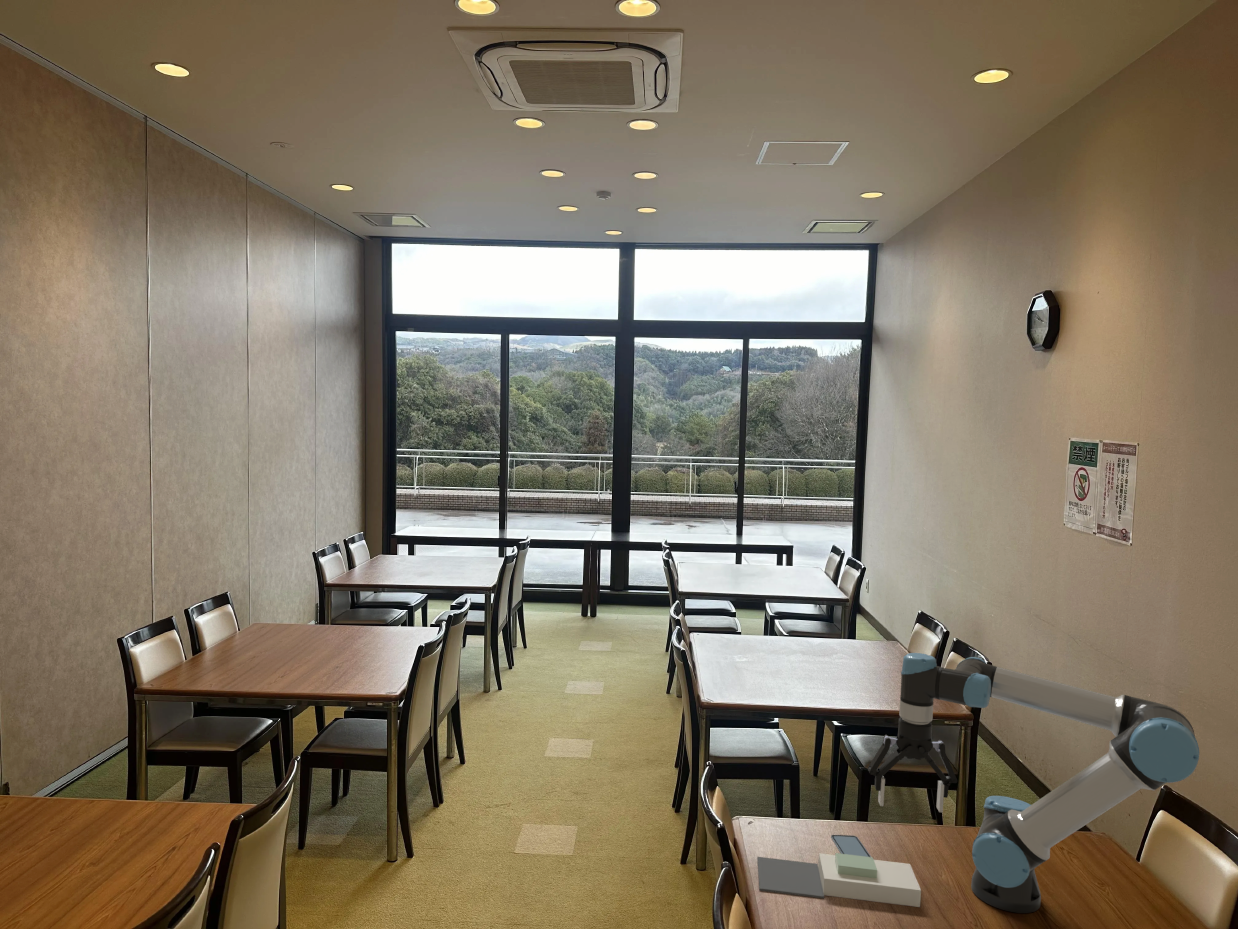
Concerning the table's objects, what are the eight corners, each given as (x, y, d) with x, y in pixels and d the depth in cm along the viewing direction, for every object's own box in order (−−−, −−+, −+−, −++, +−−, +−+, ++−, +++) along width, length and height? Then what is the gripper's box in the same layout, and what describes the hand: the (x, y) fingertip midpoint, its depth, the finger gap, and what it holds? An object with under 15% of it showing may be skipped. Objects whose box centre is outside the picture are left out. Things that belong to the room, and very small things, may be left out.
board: (908, 879, 202) (909, 864, 202) (919, 907, 190) (921, 890, 190) (818, 868, 205) (818, 853, 205) (823, 895, 193) (824, 878, 193)
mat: (817, 865, 206) (817, 863, 206) (824, 898, 191) (824, 896, 191) (757, 858, 208) (757, 856, 208) (759, 890, 193) (759, 888, 193)
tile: (872, 865, 200) (872, 857, 200) (876, 878, 194) (877, 870, 194) (834, 861, 201) (835, 853, 201) (837, 873, 195) (838, 865, 195)
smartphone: (856, 835, 223) (875, 863, 208) (856, 839, 223) (875, 866, 208) (829, 834, 223) (847, 862, 208) (829, 838, 223) (847, 865, 208)
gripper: (965, 719, 197) (959, 805, 198) (859, 709, 200) (854, 794, 201) (974, 729, 190) (968, 819, 190) (864, 719, 193) (858, 808, 193)
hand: (909, 807), depth 196 cm, fingers open, 13 cm apart
